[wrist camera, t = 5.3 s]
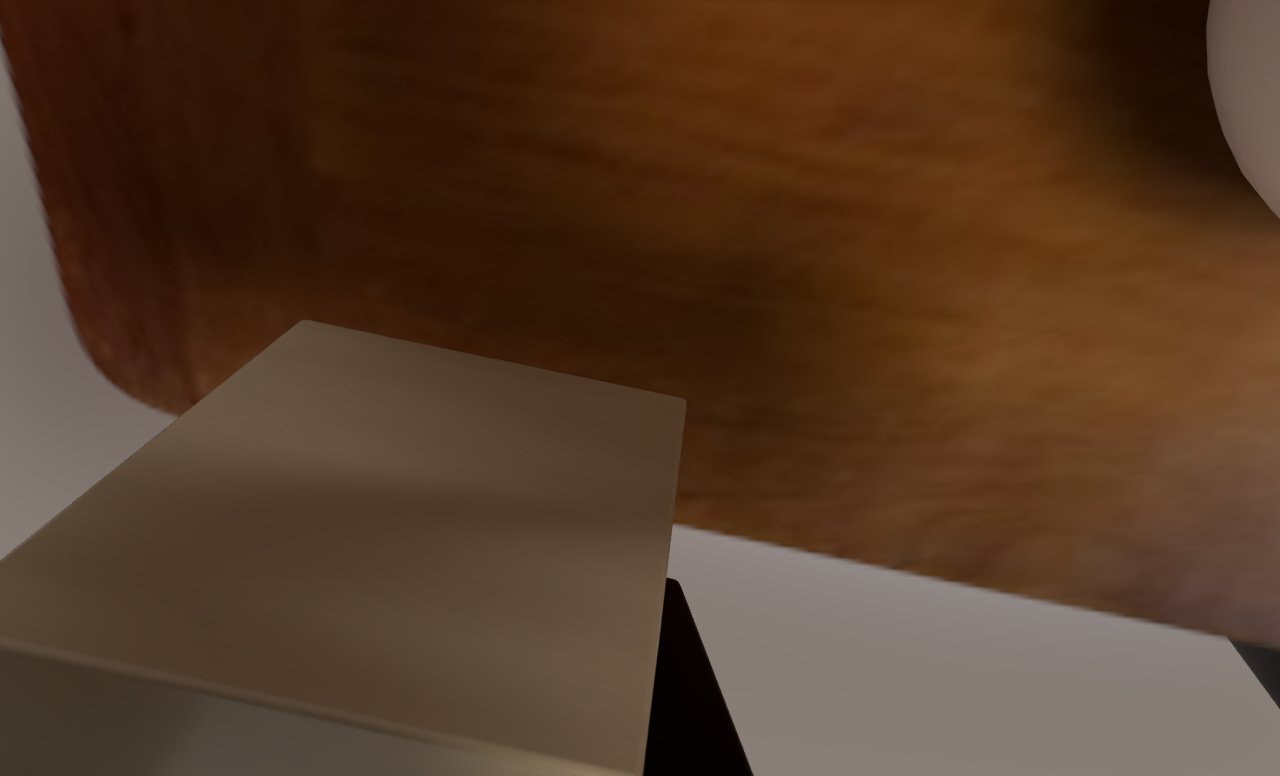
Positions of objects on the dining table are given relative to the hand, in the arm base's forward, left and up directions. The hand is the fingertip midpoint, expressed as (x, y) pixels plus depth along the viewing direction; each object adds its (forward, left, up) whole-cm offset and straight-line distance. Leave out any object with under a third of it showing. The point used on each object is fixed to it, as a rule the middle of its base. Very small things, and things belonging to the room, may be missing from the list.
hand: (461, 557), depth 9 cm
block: (0, 0, -1) cm, 1 cm away
